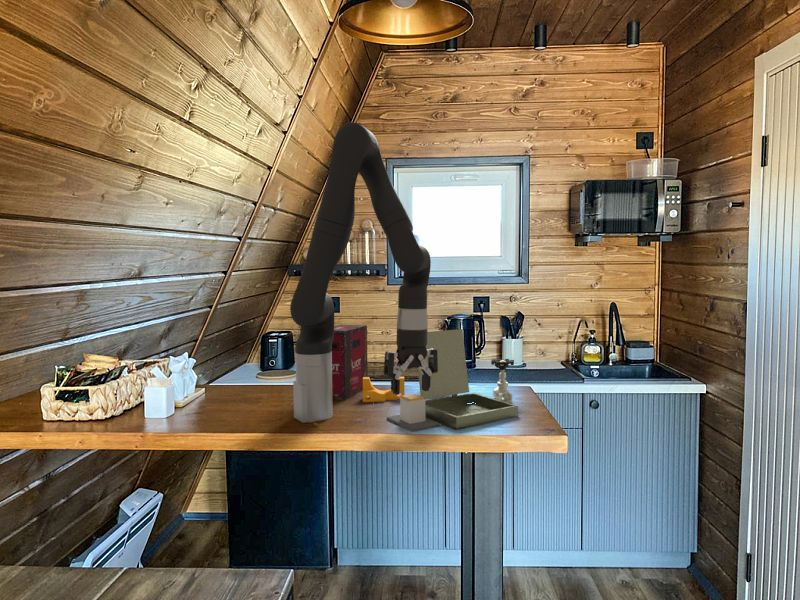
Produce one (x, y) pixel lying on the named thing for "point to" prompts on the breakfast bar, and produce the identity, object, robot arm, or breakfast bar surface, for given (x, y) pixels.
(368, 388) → the pipe clamp
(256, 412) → the breakfast bar surface
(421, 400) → the block
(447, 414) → the case
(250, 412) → the breakfast bar surface
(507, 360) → the valve
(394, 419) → the mat
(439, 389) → the lid
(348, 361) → the box
